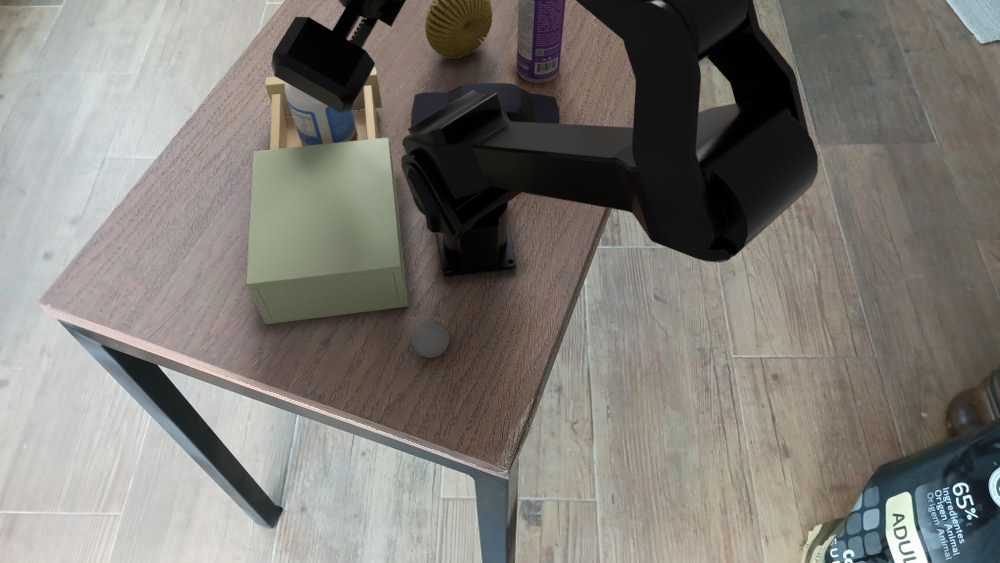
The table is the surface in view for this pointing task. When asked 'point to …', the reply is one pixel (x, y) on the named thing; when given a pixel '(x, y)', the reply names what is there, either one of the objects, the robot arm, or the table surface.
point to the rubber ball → (430, 339)
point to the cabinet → (325, 231)
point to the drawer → (285, 128)
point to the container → (539, 39)
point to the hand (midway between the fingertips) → (349, 44)
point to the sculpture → (458, 26)
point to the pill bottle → (319, 120)
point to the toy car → (510, 96)
